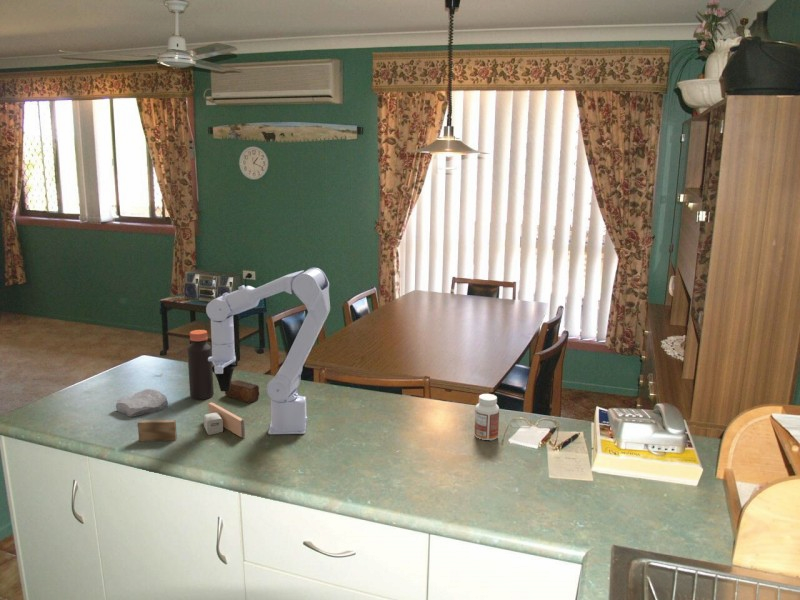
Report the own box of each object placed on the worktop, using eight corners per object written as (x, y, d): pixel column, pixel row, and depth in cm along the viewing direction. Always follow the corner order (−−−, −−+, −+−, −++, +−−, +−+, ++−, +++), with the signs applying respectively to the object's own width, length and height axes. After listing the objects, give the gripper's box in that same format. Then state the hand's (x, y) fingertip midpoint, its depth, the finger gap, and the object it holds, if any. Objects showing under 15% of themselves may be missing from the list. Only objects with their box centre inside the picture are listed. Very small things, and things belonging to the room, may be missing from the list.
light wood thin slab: (245, 436, 160) (245, 419, 159) (242, 438, 159) (241, 420, 158) (212, 417, 171) (211, 401, 170) (209, 418, 170) (208, 402, 169)
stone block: (172, 412, 180) (151, 397, 185) (172, 398, 178) (152, 383, 183) (134, 427, 170) (113, 411, 175) (134, 412, 168) (113, 396, 174)
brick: (259, 399, 185) (259, 384, 184) (250, 403, 182) (249, 388, 181) (234, 392, 191) (233, 377, 190) (224, 396, 187) (223, 381, 186)
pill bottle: (495, 431, 167) (497, 392, 164) (499, 441, 161) (502, 401, 158) (472, 431, 166) (474, 392, 164) (476, 441, 160) (478, 401, 158)
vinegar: (209, 400, 184) (206, 335, 179) (186, 399, 184) (182, 334, 179) (216, 391, 190) (213, 329, 186) (194, 391, 190) (190, 328, 186)
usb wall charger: (207, 435, 161) (206, 420, 160) (202, 425, 167) (201, 411, 166) (223, 432, 163) (222, 418, 162) (217, 422, 169) (216, 408, 168)
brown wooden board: (176, 438, 159) (175, 420, 158) (175, 440, 158) (174, 422, 157) (140, 438, 158) (139, 420, 157) (139, 441, 157) (137, 422, 156)
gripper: (213, 334, 170) (215, 381, 173) (201, 350, 156) (203, 400, 159) (239, 334, 170) (241, 380, 174) (229, 350, 156) (232, 400, 159)
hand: (225, 390), depth 166 cm, fingers closed
